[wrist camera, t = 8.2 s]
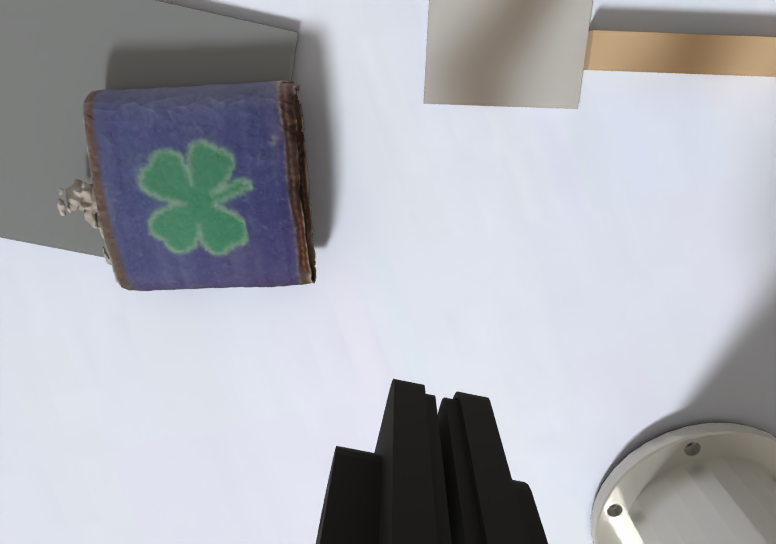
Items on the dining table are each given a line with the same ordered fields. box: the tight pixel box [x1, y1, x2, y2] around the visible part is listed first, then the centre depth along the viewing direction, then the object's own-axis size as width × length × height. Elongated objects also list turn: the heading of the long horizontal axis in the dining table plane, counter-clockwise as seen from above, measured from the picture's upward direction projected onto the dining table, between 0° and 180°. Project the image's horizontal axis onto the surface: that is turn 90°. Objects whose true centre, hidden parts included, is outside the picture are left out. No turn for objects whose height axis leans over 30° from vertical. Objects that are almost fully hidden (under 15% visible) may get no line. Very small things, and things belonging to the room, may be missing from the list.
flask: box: [57, 80, 316, 291], centre depth 27 cm, size 9×3×11 cm
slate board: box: [0, 0, 298, 257], centre depth 27 cm, size 17×12×1 cm
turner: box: [424, 0, 776, 109], centre depth 26 cm, size 17×5×1 cm, turn 88°
